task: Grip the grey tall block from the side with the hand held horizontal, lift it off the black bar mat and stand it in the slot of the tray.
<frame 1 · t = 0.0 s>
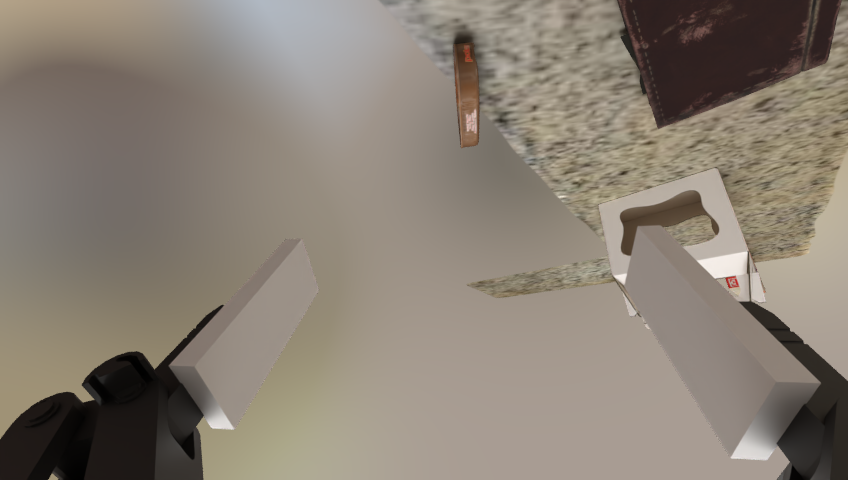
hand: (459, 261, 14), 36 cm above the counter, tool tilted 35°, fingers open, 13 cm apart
tin: (466, 77, 49), on the counter
stack of blocks: (729, 245, 99), on the counter
gable box: (659, 198, 77), on the counter
diary: (716, 0, 39), on the counter
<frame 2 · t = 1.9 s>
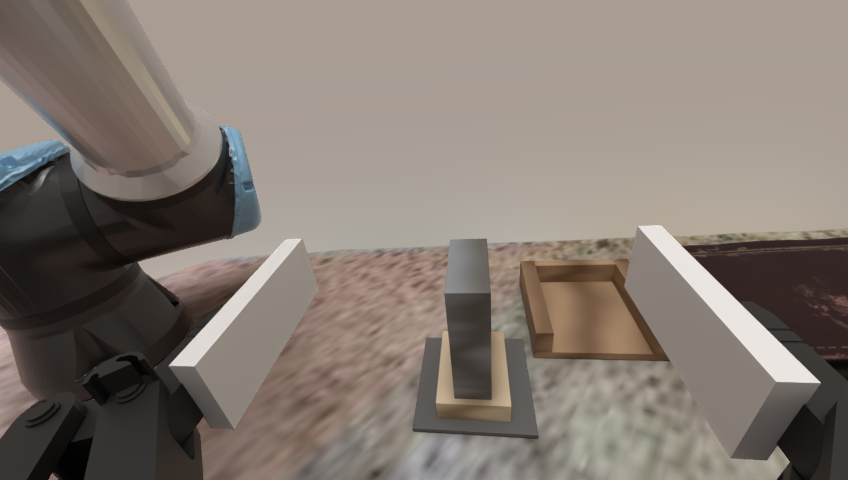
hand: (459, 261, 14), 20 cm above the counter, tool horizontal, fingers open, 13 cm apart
bar mat: (473, 381, 32), on the counter
grey tall block: (473, 378, 32), resting on bar mat
tray: (583, 315, 38), on the counter
diary: (812, 322, 35), on the counter
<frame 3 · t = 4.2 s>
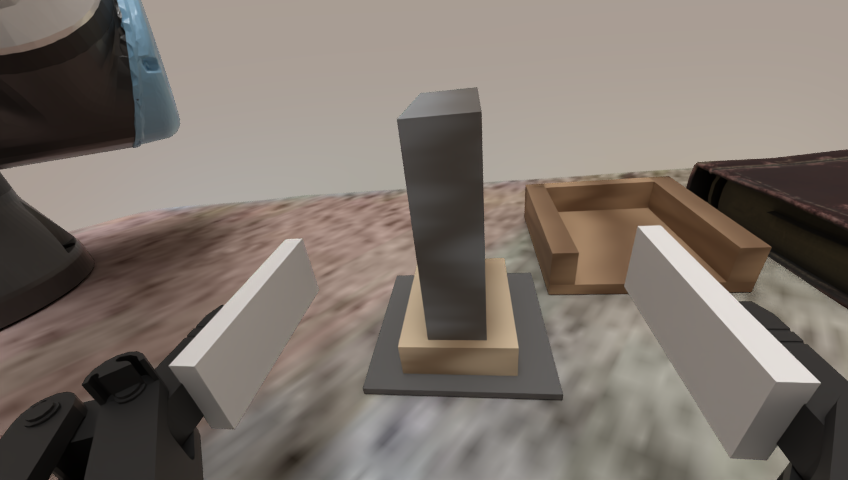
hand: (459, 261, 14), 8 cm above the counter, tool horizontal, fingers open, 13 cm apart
bar mat: (460, 325, 22), on the counter
grey tall block: (460, 321, 22), resting on bar mat
tray: (612, 245, 28), on the counter
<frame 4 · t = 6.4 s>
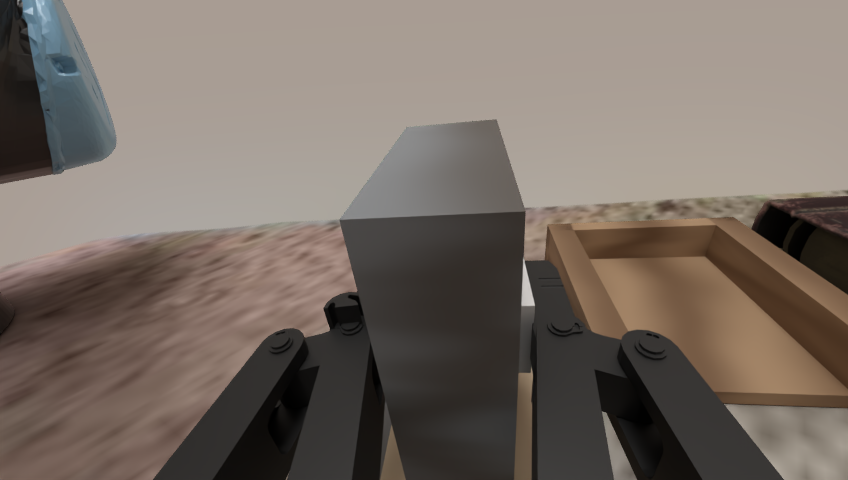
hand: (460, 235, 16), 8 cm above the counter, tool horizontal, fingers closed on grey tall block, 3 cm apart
bar mat: (467, 454, 15), on the counter
grey tall block: (467, 449, 15), resting on bar mat, touching gripper
tray: (666, 313, 21), on the counter
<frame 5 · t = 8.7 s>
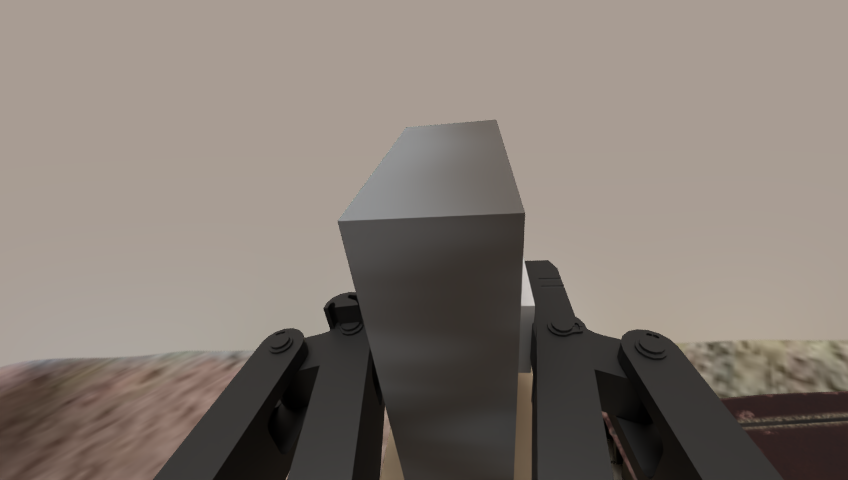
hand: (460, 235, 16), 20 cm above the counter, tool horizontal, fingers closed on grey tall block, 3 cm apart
grey tall block: (466, 450, 15), point 13 cm above the counter, touching gripper
when the fingers open (10 cm above the counter, at t = 10.9 s): grey tall block drops 2 cm, resting on tray.
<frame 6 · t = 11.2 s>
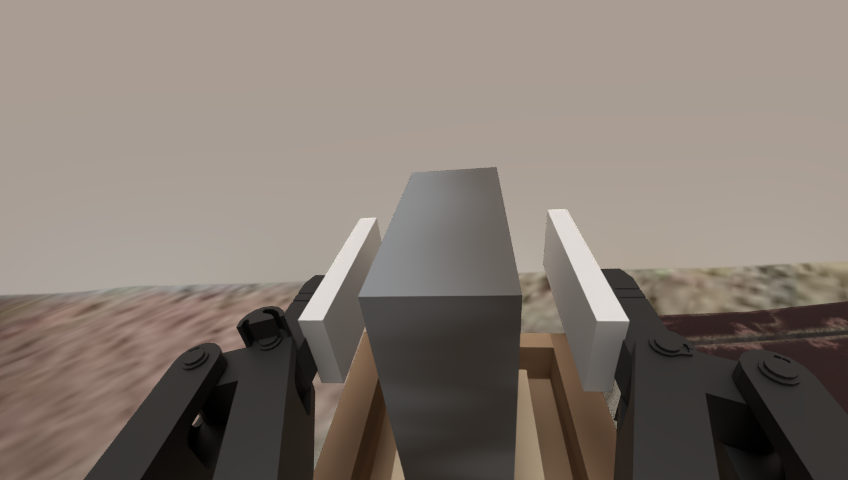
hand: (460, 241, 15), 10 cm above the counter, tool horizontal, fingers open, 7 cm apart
grey tall block: (468, 470, 16), point 1 cm above the counter, touching tray
tray: (469, 478, 16), on the counter
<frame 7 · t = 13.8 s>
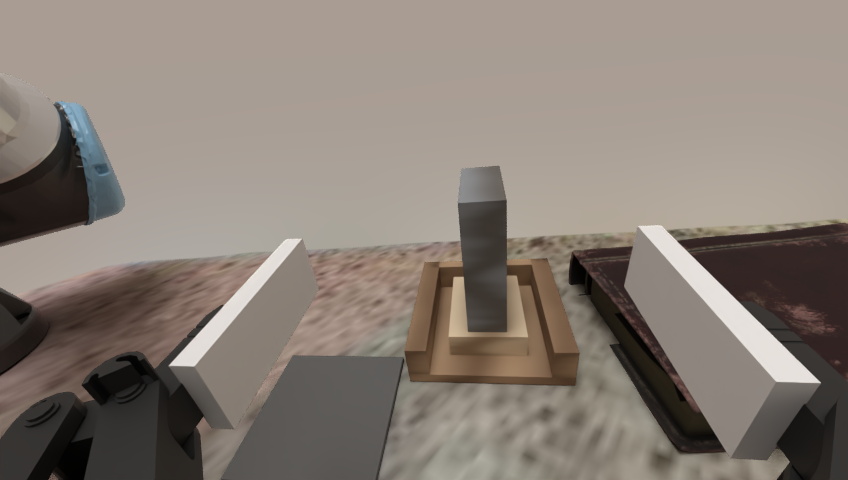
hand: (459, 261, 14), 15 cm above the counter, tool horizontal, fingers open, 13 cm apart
bar mat: (325, 413, 25), on the counter
grey tall block: (486, 320, 31), point 1 cm above the counter, touching tray
tray: (486, 326, 31), on the counter
diary: (768, 338, 27), on the counter
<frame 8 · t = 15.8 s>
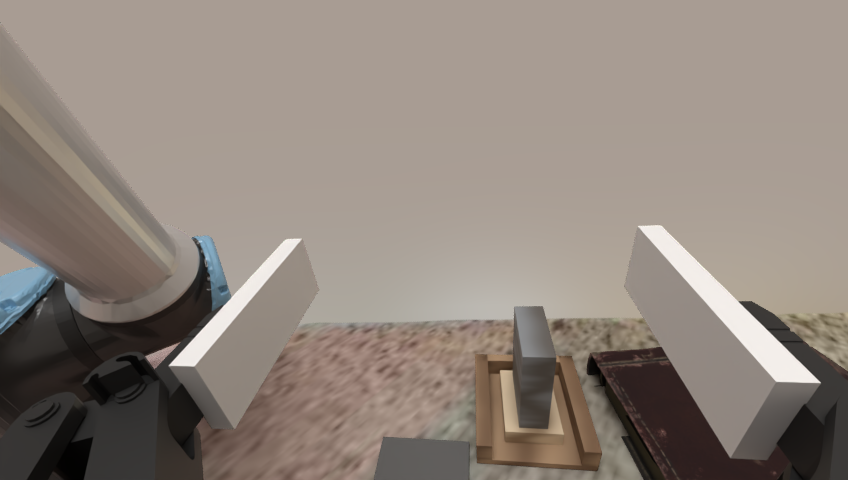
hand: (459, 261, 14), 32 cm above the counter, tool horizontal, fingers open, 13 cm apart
grey tall block: (528, 409, 41), point 1 cm above the counter, touching tray
tray: (527, 413, 41), on the counter
diary: (734, 431, 38), on the counter
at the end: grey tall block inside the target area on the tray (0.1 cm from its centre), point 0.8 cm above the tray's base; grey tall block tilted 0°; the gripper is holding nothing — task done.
